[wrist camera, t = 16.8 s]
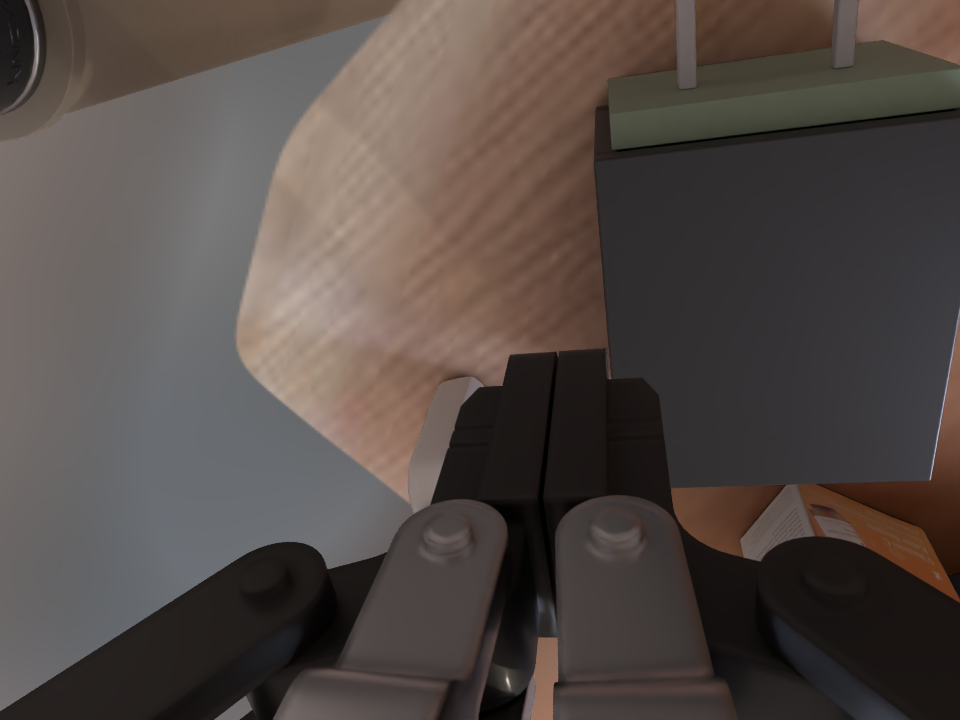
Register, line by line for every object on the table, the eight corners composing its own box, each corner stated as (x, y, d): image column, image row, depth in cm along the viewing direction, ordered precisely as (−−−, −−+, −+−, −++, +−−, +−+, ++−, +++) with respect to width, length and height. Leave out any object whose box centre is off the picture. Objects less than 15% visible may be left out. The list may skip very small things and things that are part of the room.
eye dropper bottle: (426, 446, 42) (368, 611, 31) (442, 365, 39) (384, 517, 28) (500, 464, 41) (466, 636, 31) (521, 384, 38) (491, 544, 28)
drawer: (599, -51, 27) (597, -51, 21) (898, -105, 25) (995, -123, 19) (626, 345, 35) (631, 431, 29) (854, 330, 33) (912, 418, 27)
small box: (923, 526, 39) (1019, 699, 30) (858, 589, 42) (928, 765, 33) (792, 470, 39) (850, 630, 30) (735, 538, 42) (772, 703, 32)
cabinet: (595, 107, 31) (593, 160, 23) (889, 67, 29) (997, 111, 21) (616, 377, 37) (620, 490, 30) (858, 362, 35) (931, 481, 27)
